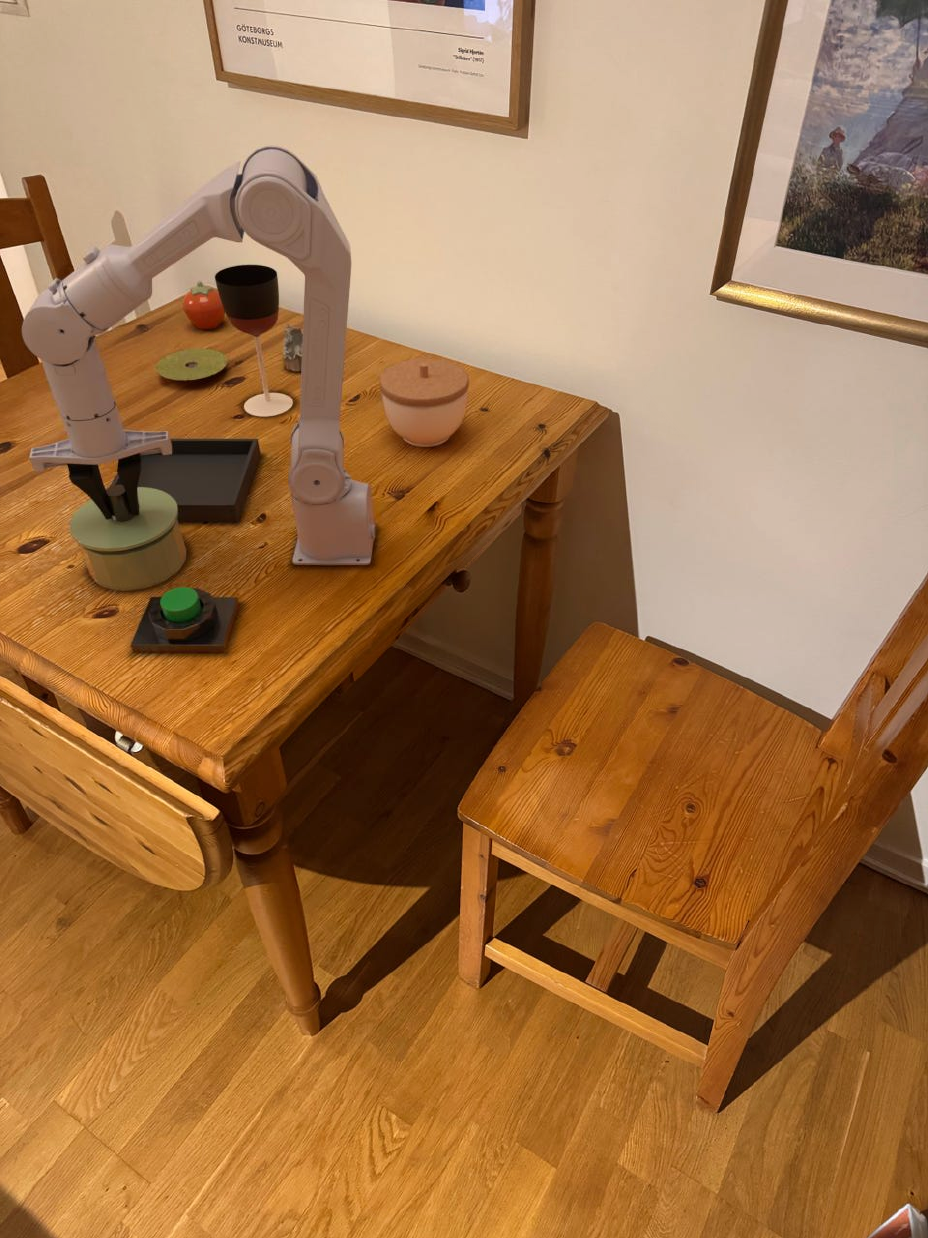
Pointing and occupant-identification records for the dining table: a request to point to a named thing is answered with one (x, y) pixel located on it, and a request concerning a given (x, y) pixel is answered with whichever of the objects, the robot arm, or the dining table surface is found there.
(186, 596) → the button
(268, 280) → the wineglass
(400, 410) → the lidded bowl
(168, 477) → the tray
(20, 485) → the dining table surface
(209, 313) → the tomato
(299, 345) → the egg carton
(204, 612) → the panel
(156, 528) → the lid
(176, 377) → the mat
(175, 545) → the pot
